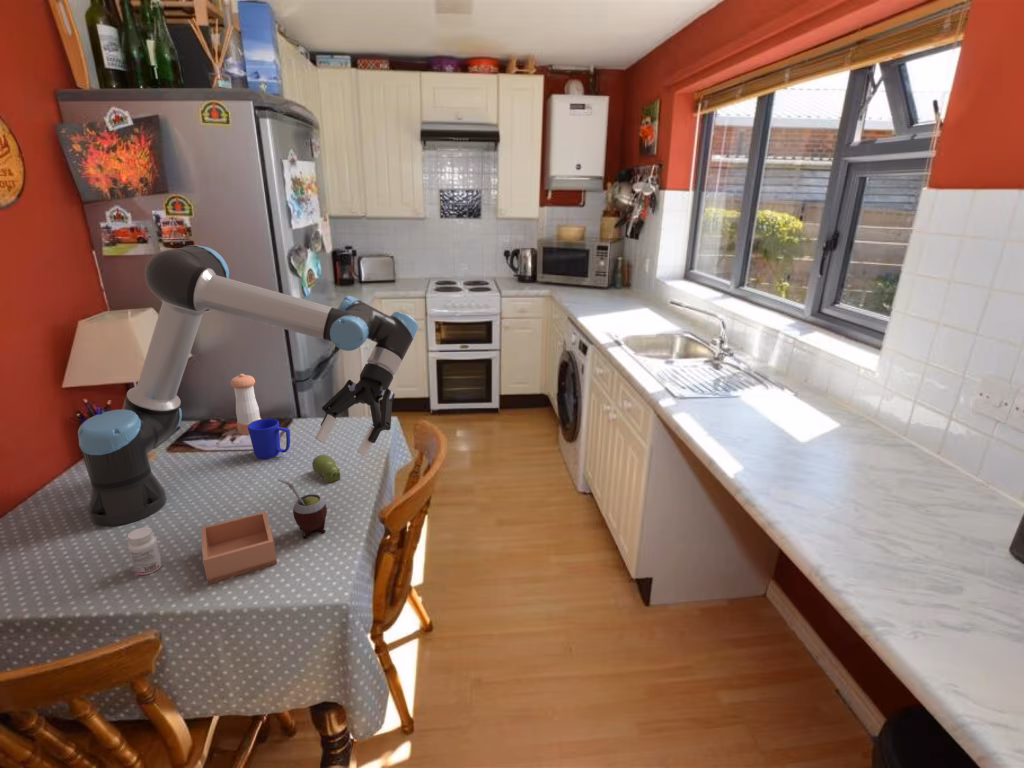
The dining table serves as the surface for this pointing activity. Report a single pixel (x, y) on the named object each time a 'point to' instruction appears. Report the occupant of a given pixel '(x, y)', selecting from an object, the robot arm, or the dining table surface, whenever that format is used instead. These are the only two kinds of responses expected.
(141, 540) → the pill bottle
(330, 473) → the pear
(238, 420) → the pepper shaker
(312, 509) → the mate gourd
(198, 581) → the dining table surface
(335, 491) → the dining table surface
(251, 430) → the mug
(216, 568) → the box
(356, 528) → the dining table surface
